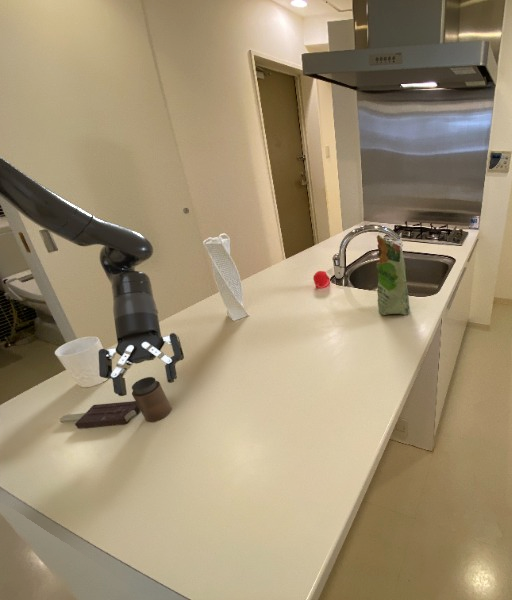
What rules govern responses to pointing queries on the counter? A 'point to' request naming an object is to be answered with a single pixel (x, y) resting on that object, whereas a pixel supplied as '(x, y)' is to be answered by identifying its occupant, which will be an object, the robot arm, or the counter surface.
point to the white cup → (82, 360)
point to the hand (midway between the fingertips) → (147, 388)
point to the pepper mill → (151, 399)
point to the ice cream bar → (104, 415)
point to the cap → (321, 280)
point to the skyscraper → (226, 276)
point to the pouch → (391, 279)
